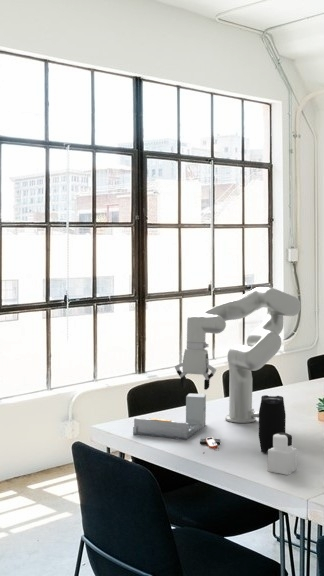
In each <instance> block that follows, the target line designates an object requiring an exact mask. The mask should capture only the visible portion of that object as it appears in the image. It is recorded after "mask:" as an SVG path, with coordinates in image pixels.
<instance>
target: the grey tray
mask: <svg viewBox="0 0 324 576" xmlns="http://www.w3.org/2000/svg"><path fill="white" fill-rule="evenodd" d="M133 419H134V421H133V423H134V425H133V427H132V434H133V435H135V436H136V435H137V436H145V437H146V436H147V437H155V438H162V439H163V438H164V439H170V440H171V439H173V440H183V441H188V440H189V439H191V438H192V437H194V435H196V434H197V433H199V432H200V431H201V428H200V423H197V424H195V425H189V423H186V422H183V421H182V422H181V421H172V420H171V419H160V418H159V419H158V418H141V417H140V418H139V417H134V418H133Z"/></svg>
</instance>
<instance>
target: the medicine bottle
mask: <svg viewBox="0 0 324 576" xmlns="http://www.w3.org/2000/svg"><path fill="white" fill-rule="evenodd" d="M297 453H298V449H297V448H296V447H293V436H292V435H291V434H290V433H287V432H285V433H276V434H274V435H273V448H271V449H269V450H268V452H267V471H268V472H270V473H275V474H279V475H280V474H281V475H284V476H288V475H290V474H292V473H293V472H295V471H297V469H298V468H297V464H298V463H297V461H298V459H297V458H298V456H297V455H298V454H297Z"/></svg>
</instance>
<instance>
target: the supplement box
mask: <svg viewBox="0 0 324 576" xmlns="http://www.w3.org/2000/svg"><path fill="white" fill-rule="evenodd" d="M206 402H207V395H206V393H188V394H187V395H186V396H185V423H189V425H195V424H197V423H200V429H204V427H205V426H206V423H207V422H206V417H207V416H206V415H207V414H206V412H207V406H206V405H207V403H206Z"/></svg>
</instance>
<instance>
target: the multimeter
mask: <svg viewBox="0 0 324 576" xmlns="http://www.w3.org/2000/svg"><path fill="white" fill-rule="evenodd" d="M200 444H201V446H202V445H203V446H205V445H207V447H208V448H209V449H213V450H214V451H216V452H217V451H218V452H219V451H220V449H218V448H219V447H218V446H221V439H220V438H214V437H213V436H208V437H206V438H200V439H199V445H200ZM216 449H218V450H216ZM202 454H203V455H204V454H205V451H203V453H202Z"/></svg>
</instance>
